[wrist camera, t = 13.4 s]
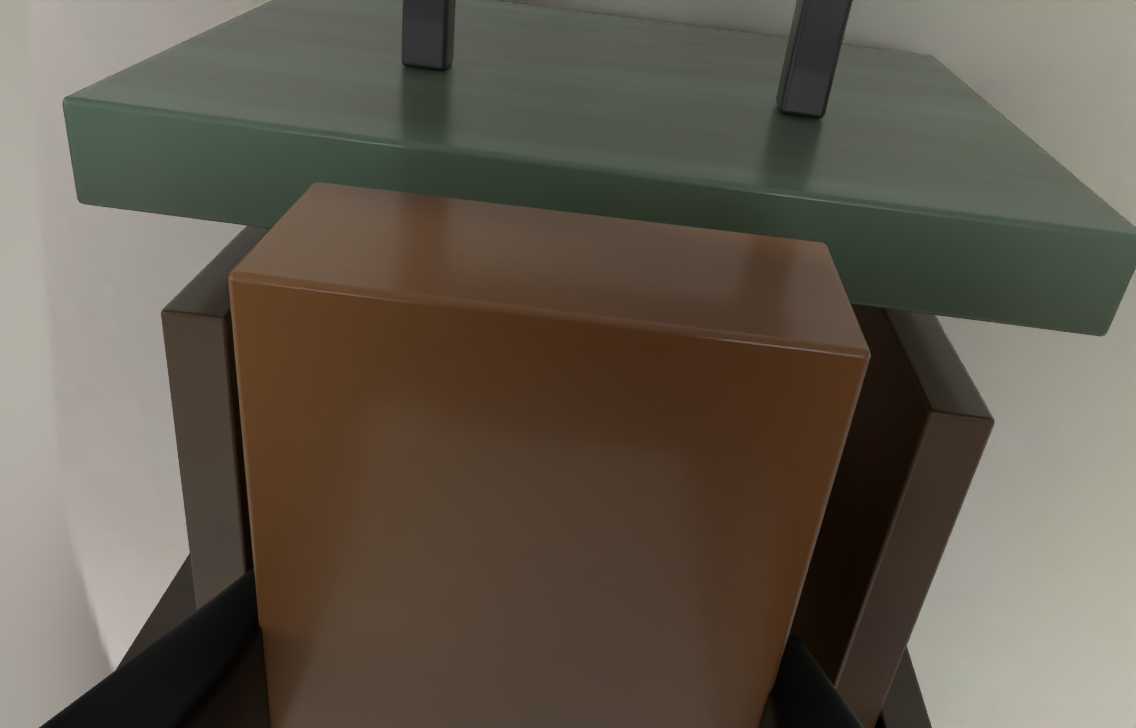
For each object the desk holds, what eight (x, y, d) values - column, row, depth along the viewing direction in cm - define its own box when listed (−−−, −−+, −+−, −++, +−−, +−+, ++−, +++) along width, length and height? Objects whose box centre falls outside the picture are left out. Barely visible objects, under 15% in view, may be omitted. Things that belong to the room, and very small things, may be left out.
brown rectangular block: (336, 772, 12) (284, 930, 11) (313, 179, 8) (223, 272, 7) (683, 819, 12) (688, 984, 10) (827, 241, 8) (873, 353, 7)
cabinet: (312, 357, 23) (80, 721, 14) (841, 426, 23) (969, 844, 13) (322, 669, 28) (160, 1084, 19) (750, 728, 28) (797, 1177, 19)
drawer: (309, -336, 15) (-37, -493, 8) (1022, -250, 15) (1399, -322, 7) (327, 409, 22) (157, 714, 15) (813, 474, 22) (895, 816, 15)
